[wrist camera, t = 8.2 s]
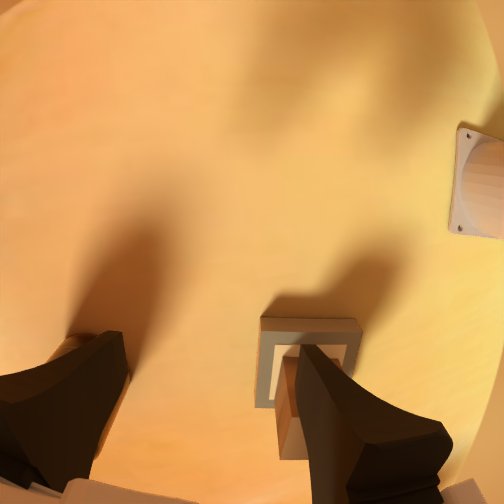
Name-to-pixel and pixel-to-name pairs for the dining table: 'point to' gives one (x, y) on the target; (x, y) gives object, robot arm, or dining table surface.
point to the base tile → (288, 344)
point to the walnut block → (290, 412)
